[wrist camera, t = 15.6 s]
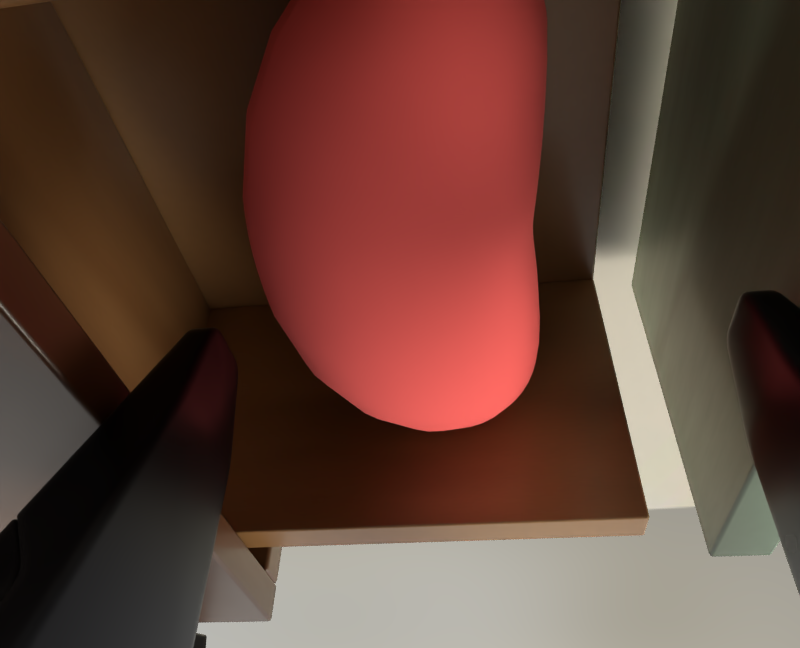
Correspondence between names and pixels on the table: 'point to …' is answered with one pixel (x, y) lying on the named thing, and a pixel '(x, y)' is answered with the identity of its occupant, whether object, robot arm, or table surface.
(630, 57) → the table surface
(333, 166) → the red bean-shaped piece
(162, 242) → the drawer
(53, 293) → the cabinet
